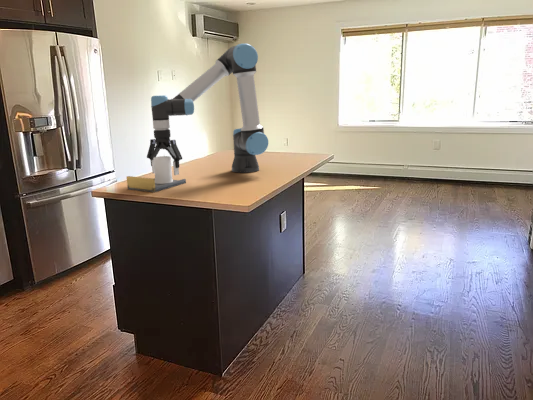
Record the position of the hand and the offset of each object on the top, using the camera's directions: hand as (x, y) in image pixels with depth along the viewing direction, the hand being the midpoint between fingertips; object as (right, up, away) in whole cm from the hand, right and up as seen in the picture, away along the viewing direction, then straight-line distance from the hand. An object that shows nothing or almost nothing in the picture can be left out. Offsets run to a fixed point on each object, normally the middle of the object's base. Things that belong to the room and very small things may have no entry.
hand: (165, 173), depth 207 cm
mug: (0, -4, +1) cm, 4 cm away
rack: (-3, -6, -4) cm, 8 cm away
